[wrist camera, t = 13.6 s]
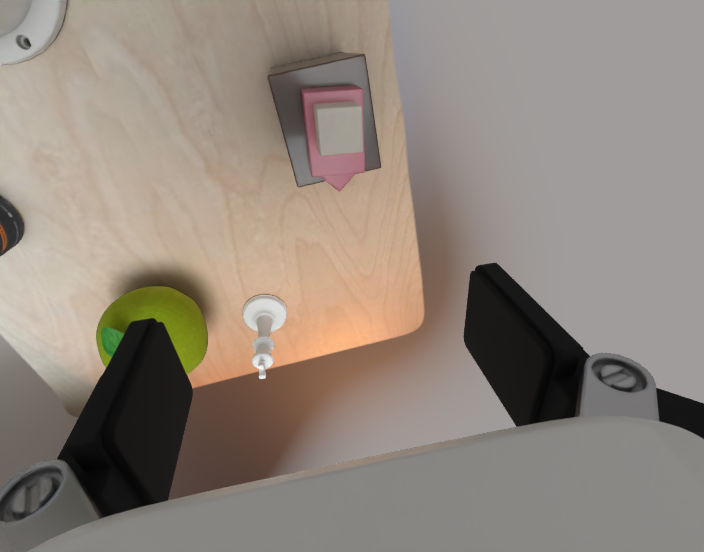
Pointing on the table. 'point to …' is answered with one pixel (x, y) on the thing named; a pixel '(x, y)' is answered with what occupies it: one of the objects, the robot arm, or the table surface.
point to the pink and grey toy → (334, 132)
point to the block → (290, 109)
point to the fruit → (164, 307)
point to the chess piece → (264, 327)
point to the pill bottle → (9, 227)
